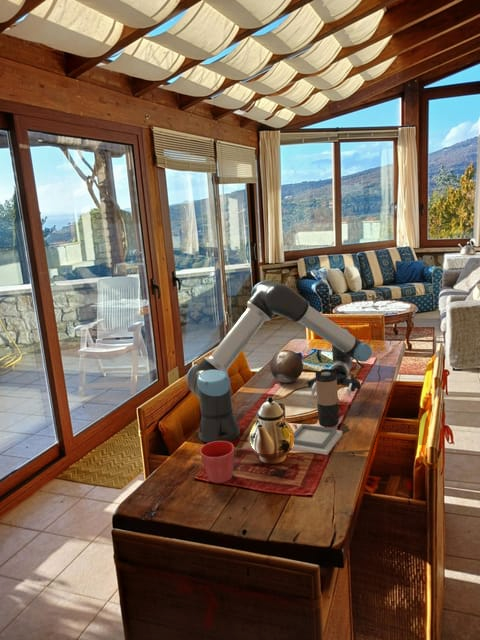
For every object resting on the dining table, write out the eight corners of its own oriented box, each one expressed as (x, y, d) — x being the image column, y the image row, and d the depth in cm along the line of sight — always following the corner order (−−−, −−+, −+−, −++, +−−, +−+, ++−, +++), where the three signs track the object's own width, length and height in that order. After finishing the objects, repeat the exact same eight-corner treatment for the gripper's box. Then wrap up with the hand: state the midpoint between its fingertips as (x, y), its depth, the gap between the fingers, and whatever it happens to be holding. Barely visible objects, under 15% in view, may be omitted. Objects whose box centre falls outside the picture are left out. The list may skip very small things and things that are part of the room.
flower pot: (207, 489, 155) (203, 460, 153) (200, 472, 166) (196, 444, 164) (241, 481, 158) (238, 452, 156) (232, 465, 168) (229, 437, 166)
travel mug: (339, 427, 188) (336, 375, 183) (317, 427, 189) (314, 376, 185) (339, 418, 195) (336, 368, 191) (318, 419, 197) (315, 369, 192)
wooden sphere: (268, 387, 234) (266, 356, 231) (274, 376, 248) (272, 346, 245) (301, 387, 231) (299, 355, 227) (305, 376, 245) (303, 345, 241)
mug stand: (282, 447, 177) (281, 441, 176) (300, 428, 190) (299, 422, 190) (327, 454, 169) (326, 448, 169) (342, 434, 183) (342, 427, 182)
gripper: (370, 382, 209) (365, 403, 190) (309, 381, 217) (298, 400, 198) (369, 365, 207) (364, 383, 188) (308, 364, 216) (297, 381, 196)
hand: (330, 392), depth 193 cm, fingers open, 13 cm apart
